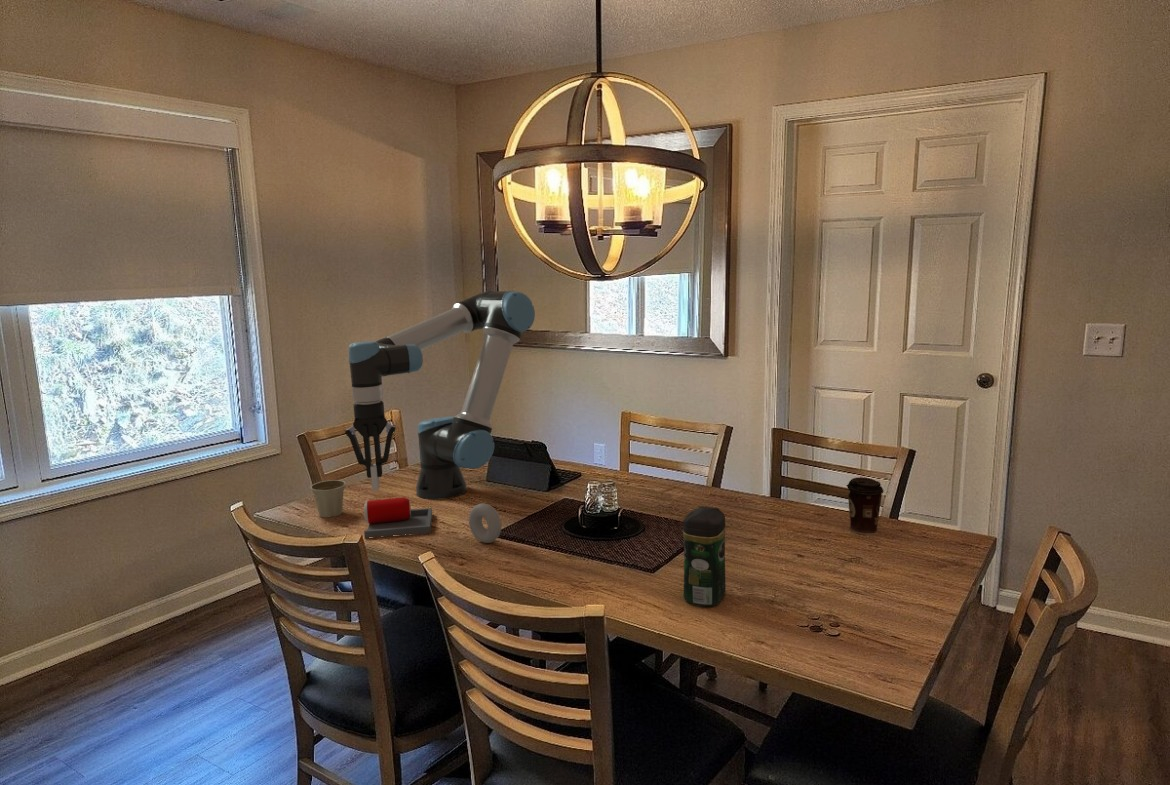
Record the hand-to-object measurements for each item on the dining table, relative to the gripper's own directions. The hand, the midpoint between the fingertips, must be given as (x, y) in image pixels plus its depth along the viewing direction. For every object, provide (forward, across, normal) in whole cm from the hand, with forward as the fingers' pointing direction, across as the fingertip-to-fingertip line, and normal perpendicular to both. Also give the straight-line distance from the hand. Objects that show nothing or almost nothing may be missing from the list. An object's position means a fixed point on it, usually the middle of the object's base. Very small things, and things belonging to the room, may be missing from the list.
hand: (375, 488), depth 192 cm
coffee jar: (+11, -71, +58) cm, 92 cm away
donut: (+11, -28, +17) cm, 34 cm away
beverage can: (+7, +4, -3) cm, 9 cm away
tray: (+11, -5, 0) cm, 12 cm away
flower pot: (+11, +15, -14) cm, 23 cm away
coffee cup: (+12, -122, +31) cm, 126 cm away
